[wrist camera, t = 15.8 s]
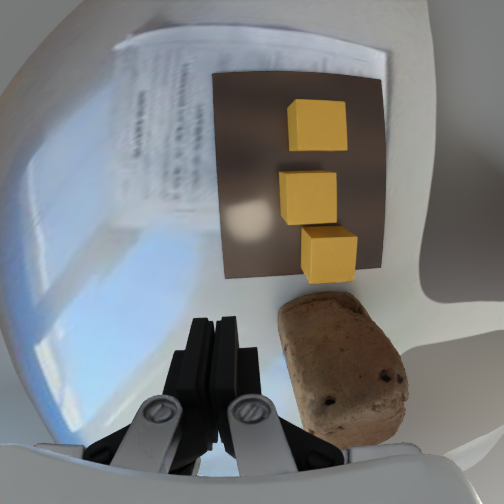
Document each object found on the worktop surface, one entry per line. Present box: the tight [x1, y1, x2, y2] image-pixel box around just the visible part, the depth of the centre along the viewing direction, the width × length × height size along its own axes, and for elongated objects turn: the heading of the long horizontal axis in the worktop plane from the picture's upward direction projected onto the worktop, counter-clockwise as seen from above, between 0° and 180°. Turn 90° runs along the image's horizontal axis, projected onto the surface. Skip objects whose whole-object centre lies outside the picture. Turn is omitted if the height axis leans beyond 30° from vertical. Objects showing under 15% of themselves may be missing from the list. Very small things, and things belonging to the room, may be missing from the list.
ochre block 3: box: [301, 226, 358, 284], centre depth 32 cm, size 5×5×5 cm
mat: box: [212, 71, 386, 279], centre depth 32 cm, size 24×20×1 cm
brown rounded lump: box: [278, 292, 409, 449], centre depth 28 cm, size 11×8×20 cm
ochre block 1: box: [287, 99, 348, 151], centre depth 28 cm, size 5×5×5 cm
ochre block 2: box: [279, 170, 337, 225], centre depth 30 cm, size 5×5×5 cm
